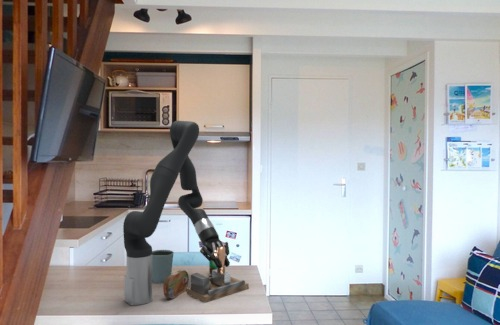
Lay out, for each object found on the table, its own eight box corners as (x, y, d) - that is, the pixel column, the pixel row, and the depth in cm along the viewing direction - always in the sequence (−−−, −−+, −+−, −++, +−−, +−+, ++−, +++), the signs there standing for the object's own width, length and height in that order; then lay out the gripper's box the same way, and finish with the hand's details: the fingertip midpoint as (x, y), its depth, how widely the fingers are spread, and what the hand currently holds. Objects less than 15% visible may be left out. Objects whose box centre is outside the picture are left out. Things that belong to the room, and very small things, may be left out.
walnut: (205, 291, 147) (205, 282, 147) (200, 289, 150) (200, 280, 150) (213, 289, 150) (213, 280, 149) (207, 287, 152) (207, 278, 152)
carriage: (224, 287, 150) (224, 249, 150) (211, 282, 156) (212, 246, 156) (230, 285, 153) (230, 248, 152) (218, 280, 159) (218, 244, 158)
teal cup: (145, 279, 167) (145, 252, 167) (166, 274, 174) (166, 248, 173) (156, 285, 159) (156, 256, 159) (177, 280, 166) (177, 252, 166)
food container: (223, 278, 169) (223, 256, 168) (209, 278, 169) (209, 255, 169) (225, 269, 181) (225, 248, 181) (212, 269, 181) (212, 248, 181)
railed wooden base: (205, 302, 142) (205, 281, 141) (186, 293, 150) (186, 273, 150) (248, 288, 157) (248, 268, 157) (229, 280, 165) (229, 262, 165)
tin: (168, 301, 142) (168, 279, 142) (161, 300, 143) (161, 278, 143) (189, 288, 156) (189, 268, 156) (182, 287, 157) (182, 267, 157)
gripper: (196, 228, 154) (214, 265, 146) (223, 224, 164) (242, 258, 156) (188, 239, 159) (206, 275, 150) (215, 234, 168) (233, 268, 160)
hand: (224, 266), depth 153 cm, fingers closed on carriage, 3 cm apart
